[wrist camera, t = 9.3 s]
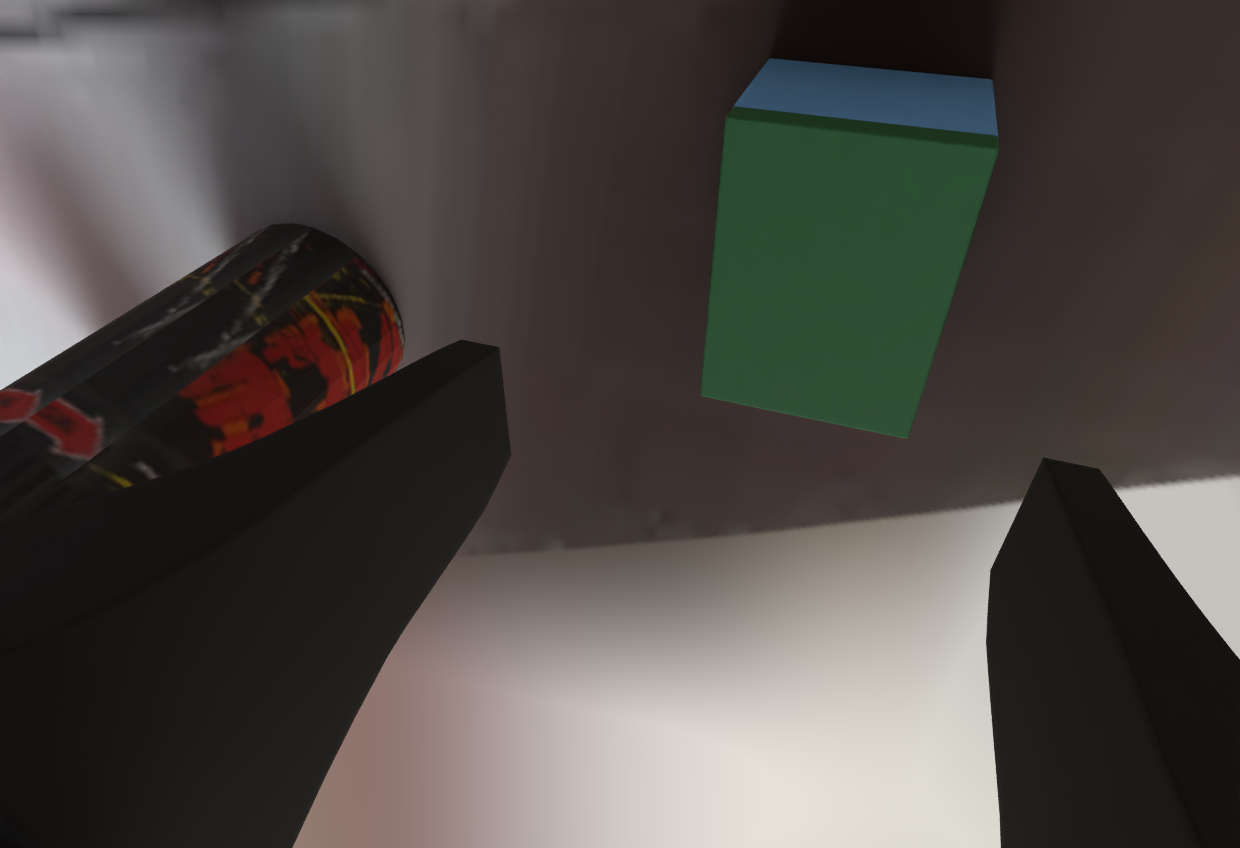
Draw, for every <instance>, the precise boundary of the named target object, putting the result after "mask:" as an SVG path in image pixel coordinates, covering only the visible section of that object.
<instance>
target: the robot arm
mask: <svg viewBox="0 0 1240 848" xmlns="http://www.w3.org/2000/svg"><path fill="white" fill-rule="evenodd" d="M510 456H511V451H510V442H509V433H508V424H507V414H506V405H505V396H504V387H503V378H502V369H501V360H500V350H499V347H495V346H490V345H485V344H480V343H476V342H471V341H466V340H459V341H457V342H455V343H452V344H450V345H448V346H446V347H443V348H441V349H439V350H437V351H435V352H433V353H431V354H429V355H427V356H425V357H423V358H421V359H419V360H418V361H416V362H414V363H412V364H410V365H408V366H406V367H404V368H402V369H400V370H398V371H397V372H395V373H393V374H391V375H389V376H387V377H385V378H383V379H381V380H379V381H377V382H375V383H374V384H372V385H370V386H368V387H366V388H364V389H362V390H360V391H358V392H356V393H354V394H352V395H350V396H348V397H346V398H344V399H343V400H341V401H339V402H337V403H335V404H333V405H331V406H328V407H326V408H324V409H322V410H320V411H318V412H316V413H314V414H311V415H309V416H307V417H305V418H303V419H301V420H299V421H297V422H294V423H292V424H290V425H288V426H286V427H284V428H282V429H279V430H277V431H275V432H273V433H271V434H269V435H267V436H264V437H262V438H260V439H257V440H255V441H253V442H250V443H248V444H246V445H243V446H241V447H238V448H236V449H234V450H231V451H229V452H226V453H224V454H221V455H218V456H216V457H213V458H210V459H208V460H205V461H202V462H200V463H197V464H194V465H192V466H189V467H186V468H184V469H181V470H178V471H175V472H172V473H169V474H167V475H163V476H160V477H157V478H154V479H151V480H147V481H144V482H141V483H138V484H135V485H131V486H128V487H125V488H122V489H119V490H115V491H112V492H109V493H106V494H103V495H99V496H96V497H93V498H90V499H86V500H83V501H79V502H76V503H72V504H68V505H64V506H60V507H57V508H53V509H49V510H45V511H41V512H37V513H34V514H29V515H25V516H21V517H17V518H13V519H8V520H4V521H0V848H292V847H293V845H294V843H295V841H296V839H297V837H298V834H299V832H300V830H301V828H302V826H303V823H304V821H305V819H306V817H307V815H308V813H309V811H310V808H311V806H312V804H313V802H314V800H315V798H316V796H317V793H318V791H319V789H320V787H321V785H322V783H323V780H324V778H325V776H326V774H327V772H328V770H329V768H330V766H331V764H332V762H333V760H334V758H335V756H336V754H337V752H338V750H339V748H340V746H341V744H342V742H343V740H344V738H345V736H346V734H347V732H348V730H349V728H350V726H351V724H352V722H353V720H354V718H355V716H356V714H357V713H358V711H359V709H360V707H361V705H362V703H363V701H364V699H365V697H366V696H367V694H368V692H369V690H370V688H371V686H372V684H373V683H374V681H375V679H376V677H377V675H378V673H379V671H380V670H381V668H382V666H383V664H384V662H385V660H386V658H387V657H388V655H389V653H390V652H391V650H392V648H393V647H394V645H395V644H396V642H397V640H398V639H399V637H400V635H401V634H402V632H403V631H404V629H405V628H406V626H407V624H408V623H409V622H410V620H411V619H412V617H413V616H414V614H415V613H416V611H417V610H418V608H419V607H420V605H421V604H422V603H423V601H424V599H425V598H426V597H427V595H428V594H429V592H430V591H431V589H432V588H433V586H434V585H435V583H436V582H437V580H438V579H439V578H440V576H441V575H442V573H443V572H444V570H445V569H446V567H447V566H448V564H449V563H450V561H451V560H452V558H453V557H454V555H455V554H456V552H457V551H458V549H459V548H460V546H461V545H462V543H463V542H464V540H465V539H466V537H467V536H468V534H469V533H470V531H471V530H472V528H473V527H474V525H475V524H476V522H477V521H478V519H479V518H480V516H481V515H482V513H483V512H484V510H485V508H486V506H487V504H488V502H489V500H490V498H491V496H492V494H493V492H494V490H495V488H496V486H497V484H498V482H499V480H500V477H501V475H502V473H503V471H504V469H505V467H506V465H507V463H508V460H509V458H510ZM986 647H987V662H988V676H989V687H990V702H991V714H992V726H993V737H994V738H993V739H994V751H995V763H996V774H997V787H998V798H999V799H998V800H999V812H1000V836H1001V848H1240V659H1239V658H1238V657H1237V656H1236V655H1235V653H1234V652H1233V651H1232V650H1231V648H1230V647H1229V646H1228V645H1227V643H1226V642H1225V641H1224V640H1223V638H1222V637H1221V636H1220V635H1219V633H1218V632H1217V631H1216V629H1215V628H1214V627H1213V626H1212V625H1211V623H1210V622H1209V621H1208V619H1207V618H1206V617H1205V616H1204V614H1203V613H1202V612H1201V610H1200V609H1199V608H1198V606H1197V605H1196V604H1195V603H1194V601H1193V600H1192V598H1191V597H1190V596H1189V595H1188V593H1187V592H1186V590H1185V589H1184V588H1183V586H1182V585H1181V584H1180V582H1179V581H1178V580H1177V578H1176V577H1175V575H1174V574H1173V573H1172V571H1171V570H1170V569H1169V567H1168V566H1167V564H1166V563H1165V562H1164V560H1163V559H1162V558H1161V556H1160V555H1159V553H1158V552H1157V550H1156V549H1155V548H1154V546H1153V545H1152V543H1151V542H1150V541H1149V539H1148V538H1147V536H1146V535H1145V533H1144V532H1143V531H1142V529H1141V528H1140V526H1139V525H1138V523H1137V522H1136V521H1135V519H1134V518H1133V516H1132V515H1131V513H1130V512H1129V510H1128V509H1127V508H1126V506H1125V505H1124V503H1123V502H1122V500H1121V499H1120V497H1119V496H1118V495H1117V493H1116V492H1115V490H1114V489H1113V487H1112V486H1111V485H1110V483H1109V482H1108V480H1107V479H1106V478H1105V476H1104V475H1103V473H1102V472H1101V471H1100V469H1097V468H1092V467H1087V466H1082V465H1077V464H1072V463H1067V462H1062V461H1057V460H1052V459H1047V458H1043V460H1042V462H1041V464H1040V466H1039V468H1038V470H1037V472H1036V474H1035V477H1034V479H1033V481H1032V483H1031V485H1030V487H1029V489H1028V491H1027V494H1026V496H1025V498H1024V500H1023V502H1022V504H1021V506H1020V508H1019V511H1018V513H1017V515H1016V517H1015V520H1014V522H1013V523H1012V525H1011V528H1010V530H1009V532H1008V534H1007V536H1006V538H1005V540H1004V543H1003V545H1002V547H1001V549H1000V551H999V553H998V555H997V557H996V560H995V562H994V564H993V566H992V568H991V571H990V585H989V600H988V616H987V637H986Z"/></svg>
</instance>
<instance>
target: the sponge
mask: <svg viewBox="0 0 1240 848" xmlns="http://www.w3.org/2000/svg"><path fill="white" fill-rule="evenodd" d="M998 152H999V142H998V130H997V120H996V110H995V100H994V90H993V80H991V79H982V78H972V77H961V76H951V75H940V74H930V73H919V72H909V71H898V70H888V69H877V68H867V67H856V66H846V65H835V64H825V63H814V62H804V61H793V60H783V59H772V58H771V59H768V61H767V62H766V63H765V65H764V66H763V67H762V69H761V70H760V71H759V73H758V74H757V75H756V77H755V78H754V79H753V81H752V82H751V83H750V85H749V86H748V87H747V89H746V90H745V91H744V93H743V94H742V95H741V97H740V98H739V99H738V101H737V102H736V103H735V105H734V106H733V108H732V109H731V110H730V111H729V113H728V114H727V116H726V118H725V127H724V138H723V149H722V160H721V171H720V182H719V193H718V203H717V214H716V225H715V236H714V247H713V258H712V269H711V280H710V291H709V302H708V313H707V324H706V335H705V346H704V357H703V368H702V378H701V389H700V394H701V396H704V397H709V398H713V399H718V400H723V401H728V402H733V403H737V404H742V405H747V406H752V407H757V408H761V409H766V410H771V411H776V412H780V413H785V414H790V415H795V416H800V417H804V418H809V419H814V420H819V421H824V422H828V423H833V424H838V425H843V426H847V427H852V428H857V429H862V430H867V431H871V432H876V433H881V434H886V435H891V436H895V437H900V438H907V437H908V436H909V434H910V431H911V428H912V424H913V421H914V418H915V415H916V412H917V409H918V405H919V402H920V399H921V396H922V393H923V390H924V386H925V383H926V380H927V377H928V374H929V371H930V367H931V364H932V361H933V358H934V355H935V352H936V348H937V345H938V342H939V339H940V336H941V333H942V329H943V326H944V323H945V320H946V317H947V314H948V310H949V307H950V304H951V301H952V298H953V295H954V291H955V288H956V285H957V282H958V279H959V276H960V272H961V269H962V266H963V263H964V260H965V257H966V253H967V250H968V247H969V244H970V241H971V238H972V234H973V231H974V228H975V225H976V222H977V219H978V215H979V212H980V209H981V206H982V203H983V200H984V196H985V193H986V190H987V187H988V184H989V181H990V177H991V174H992V171H993V168H994V165H995V162H996V158H997V155H998Z"/></svg>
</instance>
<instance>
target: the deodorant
mask: <svg viewBox="0 0 1240 848" xmlns="http://www.w3.org/2000/svg"><path fill="white" fill-rule="evenodd" d="M403 346H404V336H403V330H402V324H401V319H400V317H399V314H398V312H397V309H396V307H395V304H394V302H393V299H392V297H391V296H390V294H389V293H388V291H387V290H386V288H385V287H384V285H383V284H382V282H381V281H380V279H379V278H378V276H377V275H376V274H375V273H374V272H373V271H372V270H371V269H370V268H369V266H368V265H367V264H366V263H365V262H364V261H363V260H362V259H361V258H360V257H359V256H358V255H357V254H355V253H354V252H353V251H351V250H350V249H349V248H347V247H346V246H345V245H343V244H342V243H340V242H339V241H338V240H336V239H334V238H332V237H330V236H328V235H326V234H324V233H322V232H320V231H318V230H316V229H314V228H309V227H305V226H300V225H295V224H279V225H271V226H269V227H266V228H264V229H262V230H260V231H258V232H256V233H254V234H253V235H251V236H250V237H248V238H246V239H245V240H243V241H242V242H240V243H238V244H237V245H235V246H233V247H232V248H230V249H229V250H227V251H225V252H224V253H222V254H221V255H219V256H217V257H216V258H214V259H212V260H211V261H209V262H208V263H206V264H204V265H203V266H201V267H199V268H198V269H196V270H195V271H193V272H191V273H190V274H188V275H187V276H185V277H183V278H182V279H180V280H178V281H177V282H175V283H174V284H172V285H170V286H169V287H167V288H165V289H164V290H162V291H161V292H159V293H157V294H156V295H154V296H153V297H151V298H149V299H148V300H146V301H144V302H143V303H141V304H140V305H138V306H136V307H135V308H133V309H131V310H130V311H128V312H127V313H125V314H123V315H122V316H120V317H119V318H117V319H115V320H114V321H112V322H110V323H109V324H107V325H106V326H104V327H102V328H101V329H99V330H98V331H96V332H94V333H93V334H91V335H89V336H88V337H86V338H85V339H83V340H81V341H80V342H78V343H76V344H75V345H73V346H72V347H70V348H68V349H67V350H65V351H64V352H62V353H60V354H59V355H57V356H55V357H54V358H52V359H51V360H49V361H47V362H46V363H44V364H42V365H41V366H39V367H38V368H36V369H34V370H33V371H31V372H30V373H28V374H26V375H25V376H23V377H21V378H20V379H18V380H17V381H15V382H13V383H12V384H10V385H8V386H7V387H5V388H4V389H2V390H0V521H4V520H8V519H13V518H17V517H21V516H25V515H29V514H34V513H37V512H41V511H45V510H49V509H53V508H57V507H60V506H64V505H68V504H72V503H76V502H79V501H83V500H86V499H90V498H93V497H96V496H99V495H103V494H106V493H109V492H112V491H115V490H119V489H122V488H125V487H128V486H131V485H135V484H138V483H141V482H144V481H147V480H151V479H154V478H157V477H160V476H163V475H167V474H169V473H172V472H175V471H178V470H181V469H184V468H186V467H189V466H192V465H194V464H197V463H200V462H202V461H205V460H208V459H210V458H213V457H216V456H218V455H221V454H224V453H226V452H229V451H231V450H234V449H236V448H238V447H241V446H243V445H246V444H248V443H250V442H253V441H255V440H257V439H260V438H262V437H264V436H267V435H269V434H271V433H273V432H275V431H277V430H279V429H282V428H284V427H286V426H288V425H290V424H292V423H294V422H297V421H299V420H301V419H303V418H305V417H307V416H309V415H311V414H314V413H316V412H318V411H320V410H322V409H324V408H326V407H328V406H331V405H333V404H335V403H337V402H339V401H341V400H343V399H344V398H346V397H348V396H350V395H352V394H354V393H356V392H358V391H360V390H362V389H364V388H366V387H368V386H370V385H372V384H374V383H375V382H377V381H379V380H381V379H383V378H385V377H387V376H389V375H391V374H393V373H394V372H395V370H396V368H397V367H398V365H399V363H400V361H401V359H402V354H403Z"/></svg>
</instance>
